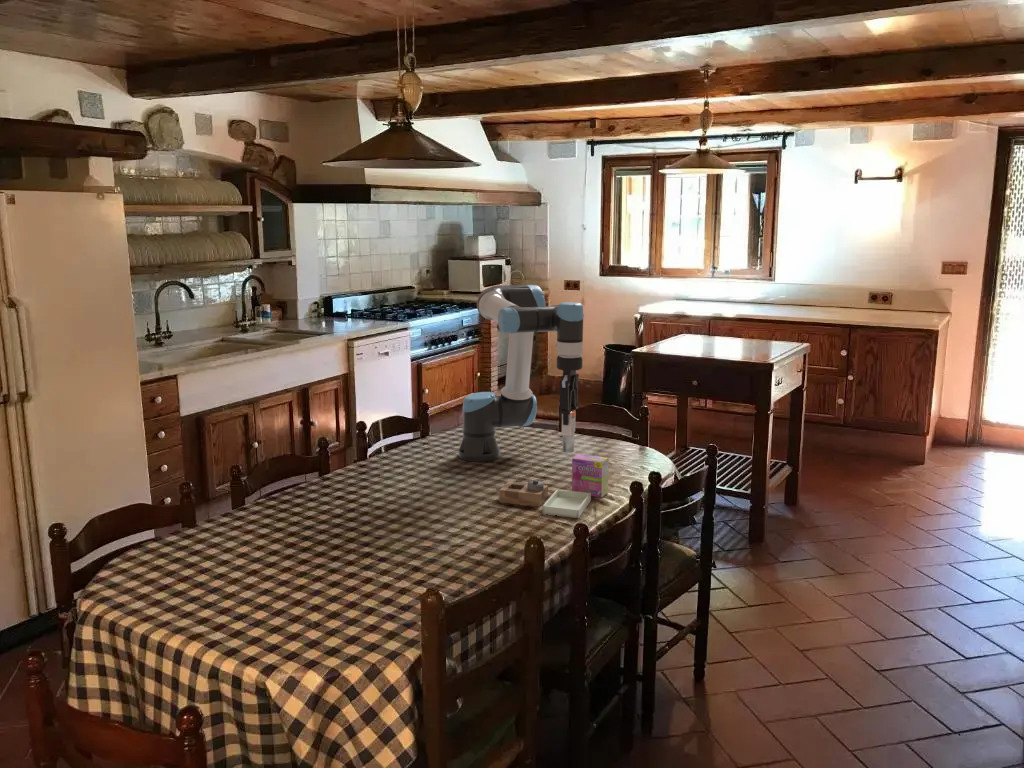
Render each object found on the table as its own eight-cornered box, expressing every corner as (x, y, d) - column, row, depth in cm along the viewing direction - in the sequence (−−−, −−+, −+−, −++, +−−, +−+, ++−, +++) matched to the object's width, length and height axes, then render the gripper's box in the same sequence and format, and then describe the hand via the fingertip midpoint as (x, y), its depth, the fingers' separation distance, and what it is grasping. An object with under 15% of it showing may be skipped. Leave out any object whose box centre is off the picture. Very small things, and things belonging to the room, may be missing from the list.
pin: (563, 448, 248) (563, 409, 246) (576, 449, 247) (577, 410, 244) (559, 452, 244) (560, 412, 242) (573, 453, 243) (573, 413, 240)
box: (571, 493, 262) (571, 457, 259) (578, 488, 267) (578, 453, 264) (601, 498, 257) (602, 462, 255) (608, 493, 262) (609, 457, 260)
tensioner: (508, 493, 262) (508, 473, 260) (547, 497, 257) (548, 477, 256) (499, 502, 253) (499, 481, 252) (539, 507, 249) (539, 486, 248)
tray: (556, 496, 258) (556, 489, 258) (590, 500, 255) (591, 493, 254) (542, 514, 243) (542, 506, 243) (578, 518, 240) (578, 510, 239)
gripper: (564, 350, 249) (563, 425, 253) (549, 359, 233) (548, 439, 237) (588, 351, 246) (587, 427, 251) (574, 361, 230) (573, 441, 235)
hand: (568, 432), depth 244 cm, fingers closed on pin, 4 cm apart
